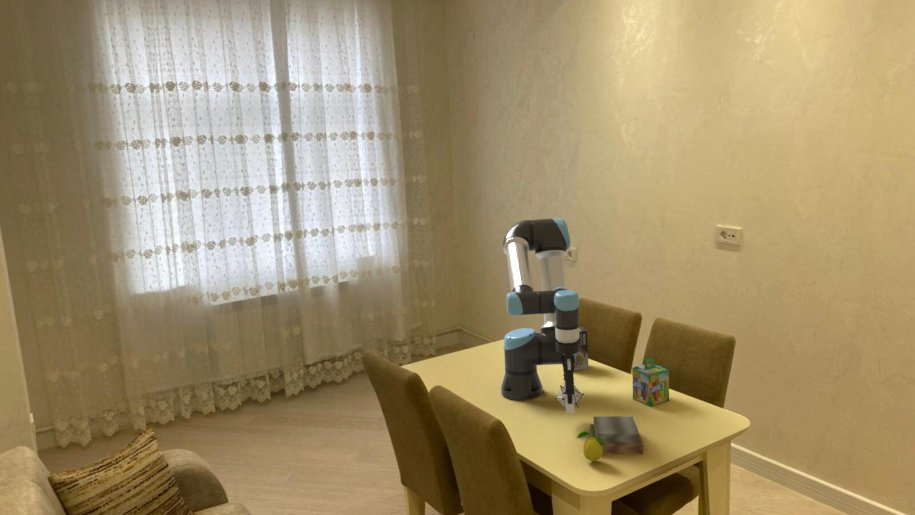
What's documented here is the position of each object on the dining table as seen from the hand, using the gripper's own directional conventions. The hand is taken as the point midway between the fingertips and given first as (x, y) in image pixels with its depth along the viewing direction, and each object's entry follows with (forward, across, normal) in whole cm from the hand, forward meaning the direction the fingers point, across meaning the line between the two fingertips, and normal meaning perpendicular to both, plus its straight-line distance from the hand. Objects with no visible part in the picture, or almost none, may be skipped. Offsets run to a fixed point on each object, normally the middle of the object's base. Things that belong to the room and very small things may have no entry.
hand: (569, 406), depth 216 cm
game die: (+1, 0, 0) cm, 1 cm away
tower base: (+6, -14, -13) cm, 20 cm away
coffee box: (+8, +52, -5) cm, 53 cm away
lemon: (+6, -26, -5) cm, 27 cm away
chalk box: (+7, +19, -29) cm, 36 cm away
